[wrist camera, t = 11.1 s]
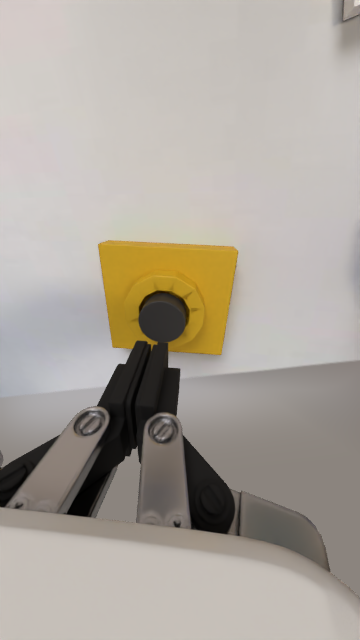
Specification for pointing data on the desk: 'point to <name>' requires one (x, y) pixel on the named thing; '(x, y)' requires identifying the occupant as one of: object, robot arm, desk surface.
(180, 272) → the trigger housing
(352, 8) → the photo frame
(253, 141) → the desk surface
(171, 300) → the cylinder
